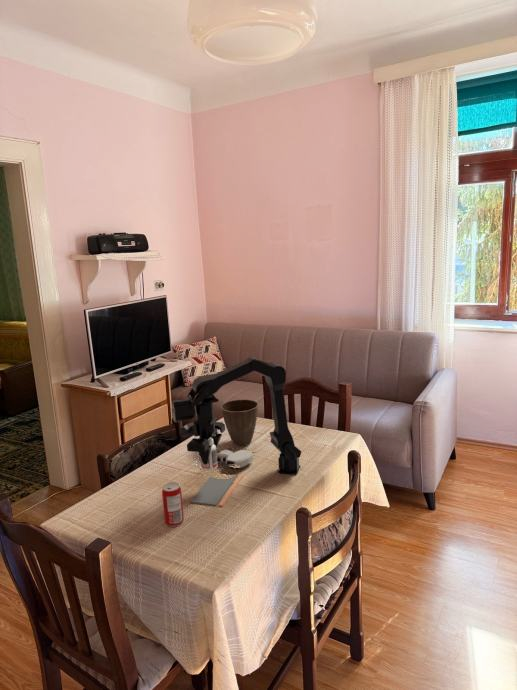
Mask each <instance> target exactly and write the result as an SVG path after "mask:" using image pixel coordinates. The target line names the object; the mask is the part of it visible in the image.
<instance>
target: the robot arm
mask: <svg viewBox="0 0 517 690" xmlns="http://www.w3.org/2000/svg"><path fill="white" fill-rule="evenodd" d="M253 372H256V373H258V374H261V375H264V379H265V382H266V384H267V386H268V389H269V391H270V398H271V399H270V401H271V407H272V415H273V423H274V424H273V425H274V427H273V428H274V429H273V431H270V432H269V435H270V443H271V444H272V445H273V447H274V448H275V449H277V450H278V451H279V452H280V453H279V457H278V469H279V470H278V473H279V474H287V475H298V473H299V470H300V468H301V465H300V460H299V459H300V457H301V454H302V450H300V449H299V448H298V447H297V446H296V445H295V442H294V438H293V435H292V433H291V431H290V428H289V425H288V417H287V411H286V410H287V409H286V400H285V392H284V389H285V386H286V383H287V371H286V369H285V368H284V367H283V366H282V365H280V364H277V363H276V362H274V361H272V362H266V361H263V360H260V359H257V357H253V356H250V357H248V358H247V359H244V360H243V361H240V362H239V363H237V364H233V365H231V366H230V367H227V368H226V369H224V370H221V371H219V372H217V373H212V374H205V375H201V376H198V377H195V379H193V380H192V381H193V382H192V384H191V389H190V390H189V392H188V394H187V395H186V398H184V399H174V400H171V402H172V404H171V414H172V419H173V422H174V423H178V422H183V421H188V420H192V419H194V418H196V419H195V420H194V421H192V422H189V423H186V424H184V426H183V425H182V426H180V427H179V435H180V436H181V437H183V438H184V439H185V438H187V437H191V436H194V438H192V439H191V440H190V441H189V442H188V443H187V444H186V450H187V451H188V452H195V453H198V454H199V457H200V460H201V459H202V461H203V463H204V464H207V463H208V459H209V455H210V451H211V447H212V446H209V441H208V440H209V439H210V438H213V441H214V445H215V446H216V450H217V449H218V446H219V443H220V441H221V438H222V436H223V433H224V432H225V431H226V425H225V422H222V421H217V416H215V414H214V413H215V412H214V403H218V402H220V400H219V398H218V397H217V396H215V394H216V393H217V392H218V391H219V390H220V389H221V388H223V386H226V385H228V384H229V383H232V382H234V381H236V380H239V379H240V378H243V377H244V376H247V375H249V374H251V373H253ZM219 432H220V433H219ZM196 437H198V438H196Z"/></svg>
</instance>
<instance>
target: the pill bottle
mask: <svg viewBox="0 0 517 690" xmlns="http://www.w3.org/2000/svg"><path fill="white" fill-rule="evenodd" d="M208 441H209V446H212V447H211V451H210V455H209V459H208V463H207V464H204V463H203V461H202V459H201V458H200V463H201V469H202V470H204V471H213V470H215V469H217V468H218V467H219V466H218V463H219V462H218V463H217V453H218V452H217V449H216V446H215V445H214V441H213V438H210V439H209V440H208Z"/></svg>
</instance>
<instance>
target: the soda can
mask: <svg viewBox="0 0 517 690" xmlns="http://www.w3.org/2000/svg"><path fill="white" fill-rule="evenodd" d="M161 494H162V504H163V515H164V523H165V524H166V526H168V527H178V526H180V525H182V524H183V523H184V519H185V518H184V517H185V516H184V507H183V499H182V498H183V497H182V488H181V486H180V483H179V482H176V481H172V482H167V483H165V484H163V486H162V491H161Z"/></svg>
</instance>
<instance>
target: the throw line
mask: <svg viewBox="0 0 517 690" xmlns="http://www.w3.org/2000/svg"><path fill="white" fill-rule="evenodd" d="M242 477H244V474H238V476H237V478H236V479H235V480H234V482H233V483H232V485H231V486H230V487H229V489H228V490H227V492H226V493H225V494H224V496H223V497H222V499H221V500H220V502H219V503H218V507H222V508H223V507H224V506H225V503H226V502H227V501H228V499H229V498H230V497H231V495H232V494H233V492H234V491H235V489H236V488H237V487H238V485H239V484H240V480H241V481H242V479H243V478H242Z"/></svg>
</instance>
